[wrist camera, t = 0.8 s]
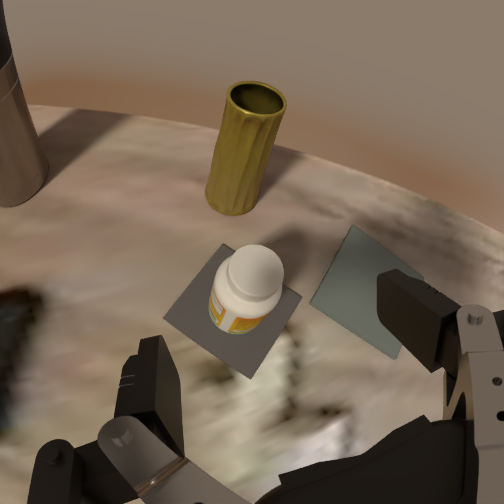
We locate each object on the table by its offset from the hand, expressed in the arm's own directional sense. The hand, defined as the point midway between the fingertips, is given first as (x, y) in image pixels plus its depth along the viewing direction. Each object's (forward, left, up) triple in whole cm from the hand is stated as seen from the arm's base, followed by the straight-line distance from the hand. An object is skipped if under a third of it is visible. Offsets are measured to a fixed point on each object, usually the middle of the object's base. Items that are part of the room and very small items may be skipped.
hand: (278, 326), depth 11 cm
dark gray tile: (-2, +6, -19) cm, 20 cm away
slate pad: (+10, +17, -19) cm, 27 cm away
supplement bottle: (-2, +6, -19) cm, 20 cm away
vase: (-10, +17, -19) cm, 28 cm away
